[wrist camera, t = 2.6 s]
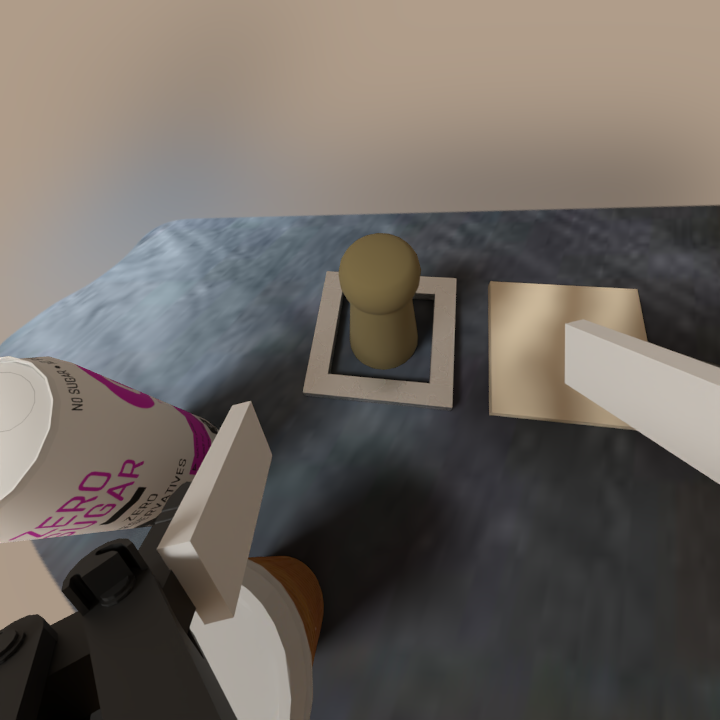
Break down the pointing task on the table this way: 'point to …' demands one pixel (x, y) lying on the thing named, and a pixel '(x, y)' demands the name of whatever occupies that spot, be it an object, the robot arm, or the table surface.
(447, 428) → the table surface
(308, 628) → the disposable coffee cup
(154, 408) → the supplement can
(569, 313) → the birch board
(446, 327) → the shaker dock
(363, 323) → the cork
